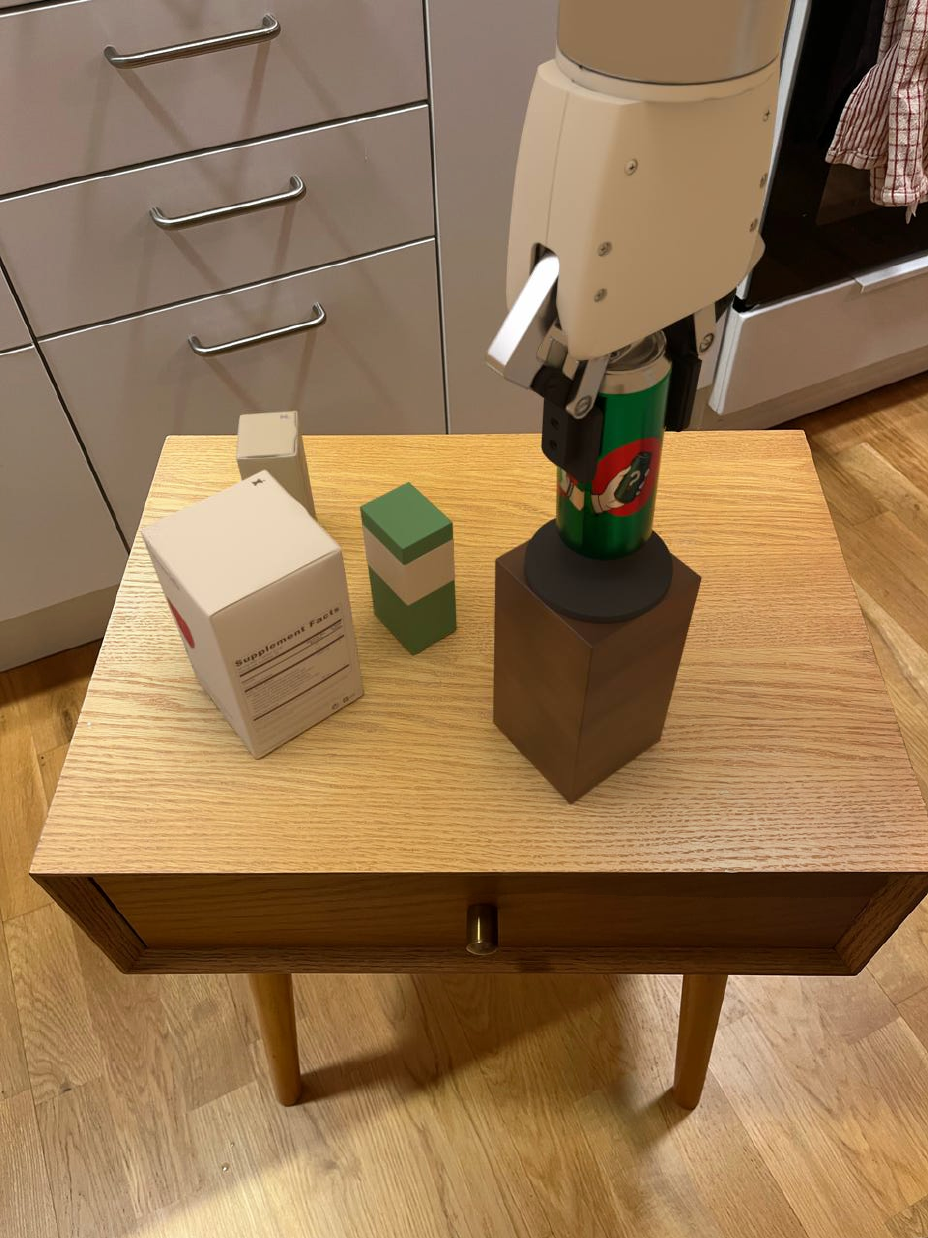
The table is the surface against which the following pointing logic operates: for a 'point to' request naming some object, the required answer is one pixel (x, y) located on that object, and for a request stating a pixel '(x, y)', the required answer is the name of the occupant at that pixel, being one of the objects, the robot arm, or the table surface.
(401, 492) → the block
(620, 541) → the soda can
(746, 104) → the robot arm
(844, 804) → the table surface
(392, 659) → the table surface
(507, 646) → the pedestal
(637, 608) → the coaster
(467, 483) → the table surface
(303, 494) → the box
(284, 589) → the rectangular carton
